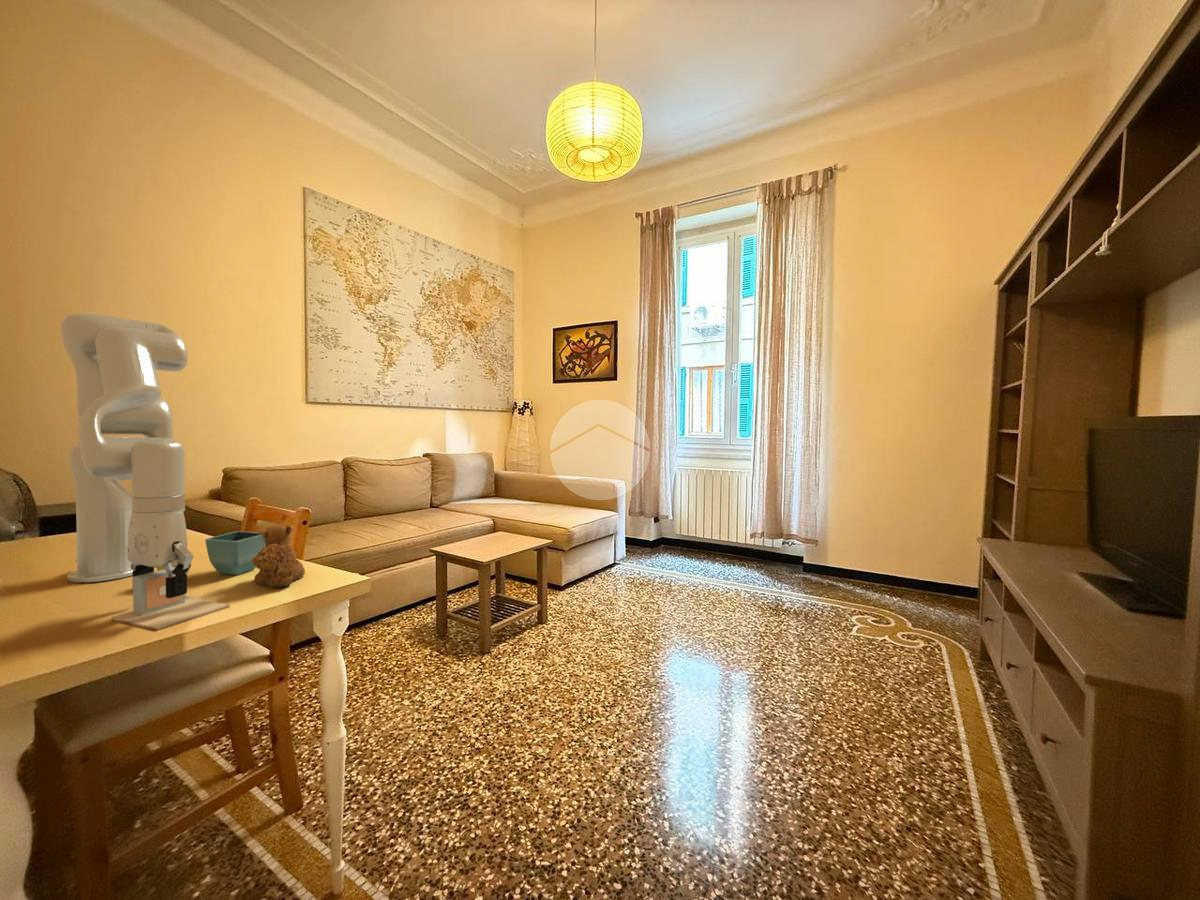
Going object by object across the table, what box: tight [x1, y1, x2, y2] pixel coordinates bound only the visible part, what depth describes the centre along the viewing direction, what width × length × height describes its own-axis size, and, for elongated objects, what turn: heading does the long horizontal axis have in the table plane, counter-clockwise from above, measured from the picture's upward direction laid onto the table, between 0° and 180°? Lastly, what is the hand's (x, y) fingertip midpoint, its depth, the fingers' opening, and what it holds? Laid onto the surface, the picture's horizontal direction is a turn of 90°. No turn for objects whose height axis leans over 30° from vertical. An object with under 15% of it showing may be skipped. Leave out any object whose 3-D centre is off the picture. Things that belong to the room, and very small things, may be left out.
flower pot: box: [204, 530, 265, 576], centre depth 117 cm, size 9×9×9 cm
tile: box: [132, 567, 186, 615], centre depth 92 cm, size 3×7×7 cm, turn 162°
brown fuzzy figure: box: [251, 523, 306, 589], centre depth 110 cm, size 10×14×13 cm
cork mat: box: [111, 595, 230, 631], centre depth 91 cm, size 13×12×1 cm
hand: (159, 592), depth 92 cm, fingers open, 9 cm apart
